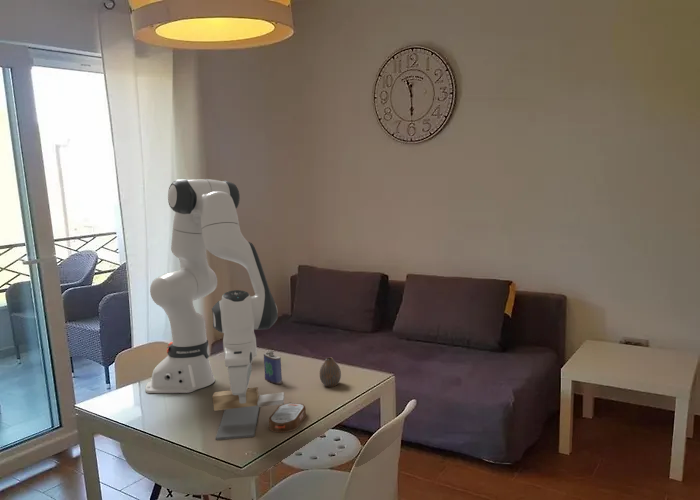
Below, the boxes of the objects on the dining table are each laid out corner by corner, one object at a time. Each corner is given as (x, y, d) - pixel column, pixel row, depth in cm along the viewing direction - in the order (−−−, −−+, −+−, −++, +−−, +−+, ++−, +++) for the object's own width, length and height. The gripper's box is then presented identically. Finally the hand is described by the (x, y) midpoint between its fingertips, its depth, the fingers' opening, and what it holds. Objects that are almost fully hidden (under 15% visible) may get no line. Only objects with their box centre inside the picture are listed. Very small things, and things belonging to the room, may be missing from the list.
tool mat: (215, 439, 154) (215, 437, 154) (226, 407, 176) (226, 406, 176) (254, 436, 155) (254, 434, 155) (259, 405, 177) (259, 403, 177)
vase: (324, 390, 187) (323, 363, 186) (317, 383, 193) (315, 357, 192) (344, 386, 189) (343, 359, 188) (336, 379, 196) (335, 354, 195)
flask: (283, 383, 195) (281, 351, 194) (276, 385, 193) (273, 353, 192) (269, 377, 202) (267, 346, 201) (262, 379, 200) (260, 348, 199)
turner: (213, 412, 159) (211, 398, 159) (216, 404, 165) (215, 390, 165) (283, 404, 160) (281, 389, 160) (284, 396, 166) (282, 382, 166)
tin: (264, 432, 157) (294, 435, 156) (264, 420, 157) (294, 423, 155) (281, 410, 172) (309, 412, 170) (281, 399, 172) (309, 402, 170)
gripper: (232, 341, 171) (236, 387, 173) (223, 362, 151) (228, 414, 152) (254, 339, 172) (258, 385, 173) (248, 360, 151) (252, 412, 153)
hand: (243, 399), depth 163 cm, fingers closed on turner, 3 cm apart
